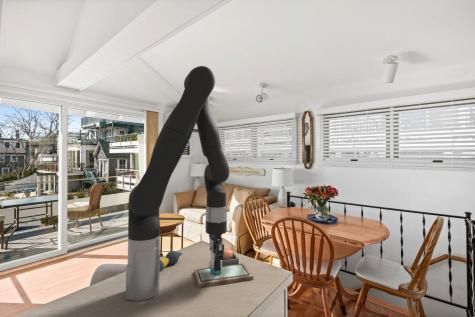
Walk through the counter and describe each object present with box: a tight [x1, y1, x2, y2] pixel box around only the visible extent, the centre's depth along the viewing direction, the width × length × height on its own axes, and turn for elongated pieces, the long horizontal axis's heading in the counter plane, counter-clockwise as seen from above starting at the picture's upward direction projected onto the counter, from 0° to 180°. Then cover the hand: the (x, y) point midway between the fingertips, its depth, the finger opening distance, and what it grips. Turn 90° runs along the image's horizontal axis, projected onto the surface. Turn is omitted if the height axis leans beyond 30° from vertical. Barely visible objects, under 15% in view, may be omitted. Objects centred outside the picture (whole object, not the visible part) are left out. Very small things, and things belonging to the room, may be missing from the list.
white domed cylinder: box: [209, 249, 222, 274], centre depth 82 cm, size 4×4×8 cm
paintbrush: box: [160, 250, 184, 272], centre depth 88 cm, size 20×5×5 cm, turn 156°
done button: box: [223, 248, 234, 260], centre depth 94 cm, size 5×5×3 cm
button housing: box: [222, 251, 240, 266], centre depth 94 cm, size 8×8×2 cm
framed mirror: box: [193, 263, 255, 289], centre depth 83 cm, size 19×11×1 cm, turn 108°
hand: (215, 267), depth 82 cm, fingers closed on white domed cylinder, 4 cm apart
